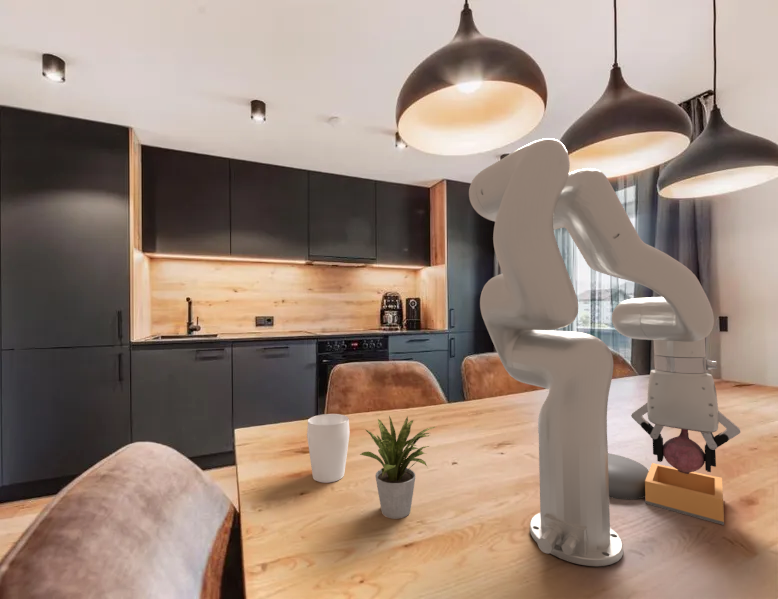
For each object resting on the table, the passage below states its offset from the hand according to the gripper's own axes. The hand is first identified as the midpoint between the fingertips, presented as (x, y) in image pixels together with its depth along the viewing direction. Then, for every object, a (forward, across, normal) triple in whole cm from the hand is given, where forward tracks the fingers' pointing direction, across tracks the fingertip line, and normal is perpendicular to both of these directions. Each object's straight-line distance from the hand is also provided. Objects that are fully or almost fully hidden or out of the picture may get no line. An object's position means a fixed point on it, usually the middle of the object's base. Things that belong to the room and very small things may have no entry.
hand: (683, 463), depth 67 cm
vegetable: (+2, 0, 0) cm, 2 cm away
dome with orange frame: (+7, +7, 0) cm, 10 cm away
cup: (+7, +58, +35) cm, 68 cm away
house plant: (+7, +37, +37) cm, 53 cm away
